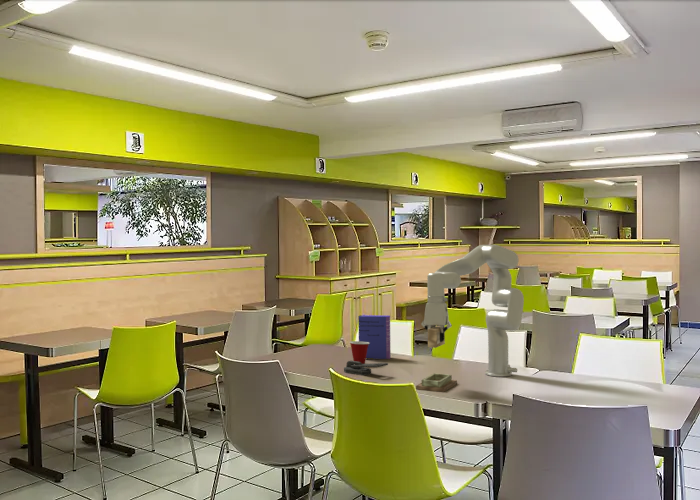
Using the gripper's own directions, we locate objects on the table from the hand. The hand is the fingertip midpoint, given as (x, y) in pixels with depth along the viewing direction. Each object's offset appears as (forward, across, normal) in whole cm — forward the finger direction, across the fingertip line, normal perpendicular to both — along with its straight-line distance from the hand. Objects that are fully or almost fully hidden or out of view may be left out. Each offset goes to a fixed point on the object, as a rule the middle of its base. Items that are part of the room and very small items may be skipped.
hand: (436, 340), depth 282 cm
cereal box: (+21, +56, -53) cm, 80 cm away
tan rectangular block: (+2, 0, 0) cm, 2 cm away
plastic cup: (+21, +56, -34) cm, 68 cm away
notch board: (+21, 0, 0) cm, 21 cm away
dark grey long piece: (+21, +41, -11) cm, 48 cm away
